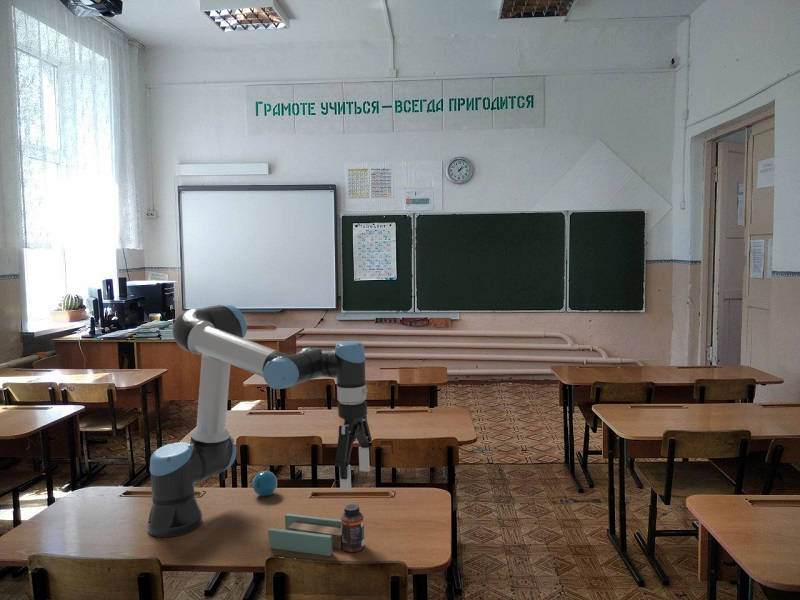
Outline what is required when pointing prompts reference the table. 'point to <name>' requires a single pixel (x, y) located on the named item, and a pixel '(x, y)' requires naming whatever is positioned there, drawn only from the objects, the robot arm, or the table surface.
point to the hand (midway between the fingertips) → (355, 480)
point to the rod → (320, 531)
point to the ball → (264, 483)
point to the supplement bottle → (352, 529)
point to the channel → (303, 536)
